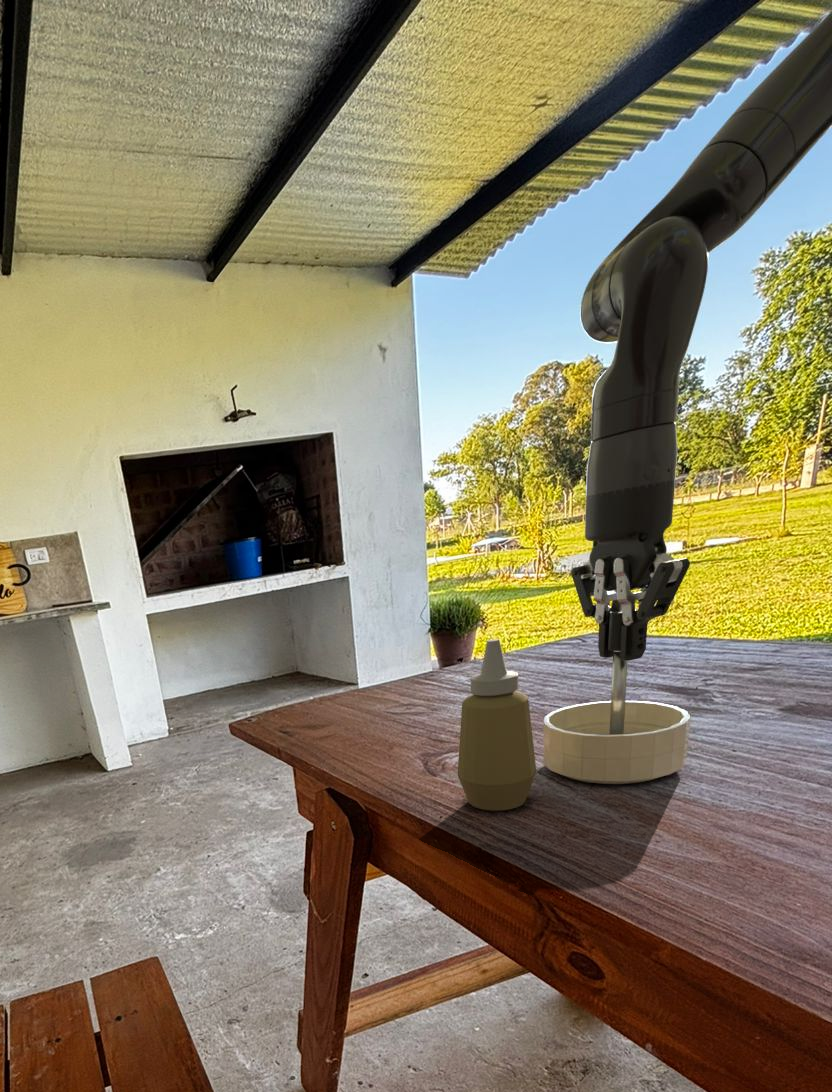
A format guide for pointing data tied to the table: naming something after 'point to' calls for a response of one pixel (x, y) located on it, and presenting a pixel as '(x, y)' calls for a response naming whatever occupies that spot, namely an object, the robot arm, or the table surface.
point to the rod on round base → (617, 674)
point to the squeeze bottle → (496, 737)
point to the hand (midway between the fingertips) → (620, 656)
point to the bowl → (616, 742)
